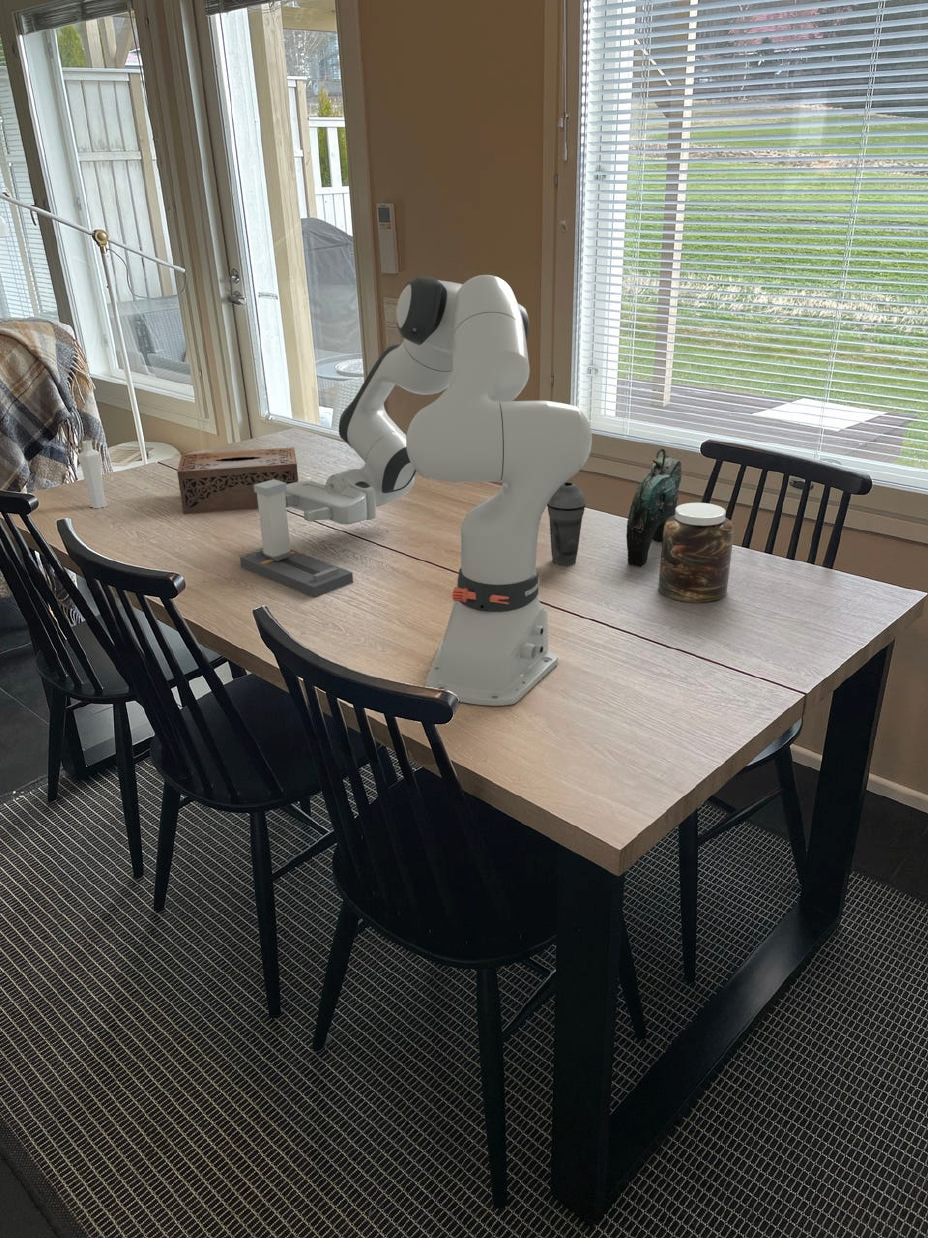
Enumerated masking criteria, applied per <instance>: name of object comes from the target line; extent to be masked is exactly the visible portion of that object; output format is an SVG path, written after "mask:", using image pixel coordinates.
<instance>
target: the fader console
mask: <svg viewBox="0 0 928 1238" xmlns="http://www.w3.org/2000/svg"><path fill="white" fill-rule="evenodd" d="M239 561H240V568H243V569H245V570H248V571H250V572H252V573H255V574H256V575H259V576H262V577H264V578H267V579H268V580H271V581H274V582H276V583H279V584H281V585H284V586H285V587H288V588H290V589H293V590H295V591H298V592H300V593H303V594H305V595H308V596H309V597H312V598H317V597H320V596H322V595H325V594H327V593H330V592H333V591H335V590H338V589H341V588H342V587H345V586H348V585H350V584H353V583H354V580H353V579H354V577H353V575H354V574H353V572H352V571H350V570H347V569H344V568H342V567H338V566H337V565H334V564H331V563H329V562H326V561H323V560H320V559H317V558H315V557H312V556H309V555H308V554H304V553H302V552H299V551H297V550H295V549H291V548H290V557H287V558H285V559H282V560H279V561H276V560H274V559H271V558H269V557H266V556H265V555H264V553H263V547H261V548H258V549H255V550H253V551H252V552H251V553H249V554H246V555H242V556H240V557H239Z"/></svg>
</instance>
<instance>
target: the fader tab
mask: <svg viewBox="0 0 928 1238" xmlns="http://www.w3.org/2000/svg"><path fill="white" fill-rule="evenodd" d="M286 490H287V488H286V483H285V482H281V481H278V480H275V479H273V480H270V481H266V482H262V483H259V484H255V485H254V492H255V493H257V499H258V508H259V509H258V516H259V524H260V525H259V526H260V534H261V542H262V548H263V553H264V555H265V556H266V557H269V558H271V559H274V560H276V561H279V560H282V559H285V558H287V557H290V549H291V546H290V536H289V535H290V534H289V532H290V531H289V524H288V523H289V522H288V513H287V507H286V502H285V491H286Z"/></svg>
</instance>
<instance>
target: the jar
mask: <svg viewBox="0 0 928 1238" xmlns="http://www.w3.org/2000/svg"><path fill="white" fill-rule="evenodd" d="M726 513H727V512H726V509H725V508H724V507H722V506H720V505H717V504H712V503H708V502H707V503H706V502H687V503H682V504H679V505H677V507H676V509H675V515H672V516H670V517H668V518H667V520H666V521H665V525H664V531H663V540H662V543H661V552H660V553H661V554H660V562H659V563H660V564H659V578H658V591H659V592H660V593H661V594H662V595H663V596H665V597H667V598H669V599H672V600H675V601H679V602H685V603H691V604H692V603H694V604H695V603H696V604H697V603H698V604H699V603H701V604H702V603H703V604H704V603H710V602H714V601H719V600H721V599H722V598H724V597H725V596H726V595H727V592H728V585H729V577H730V576H729V575H730V569H731V560H732V553H733V552H732V551H733V544H734V543H733V541H734V524H733V522H732V521H731V519H728V517H726Z"/></svg>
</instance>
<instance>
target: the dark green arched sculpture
mask: <svg viewBox="0 0 928 1238" xmlns="http://www.w3.org/2000/svg"><path fill="white" fill-rule="evenodd" d="M661 452H662V455H663V457H659V455H660V453H661ZM655 456H656V459H652V463H653V464H652V466H651V468H650V472H648V473H647V474H646V475H645V477H644V478H643V480H641V482H640V484H638V486H637V488H636V490H635V493H634V496H633V499H632V502H631V505H630V509H629V514H628V517H627V522H626V523H627V524H626V547H627V549H626V550H627V564H628V565H629V566H634V567H639V568H642V567H644V566H645V565H646V563H647V562H648V557H649V550H650V548H651V544H652V541H653V542H654V543H659V544H660V543H661V544H662V540H663V531H664V525H665V521H666V520H667V518H668V517H670V516H672V515H675V509H676V507H677V506H678V499H679V489H680V484H681V482H682V481H681V480H682V462H681V460H679V459H677V458H676V459H675V458H671V457H670V456H669V454H668V452H667V450H665V449H664V448H658V450H656V454H655Z"/></svg>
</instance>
